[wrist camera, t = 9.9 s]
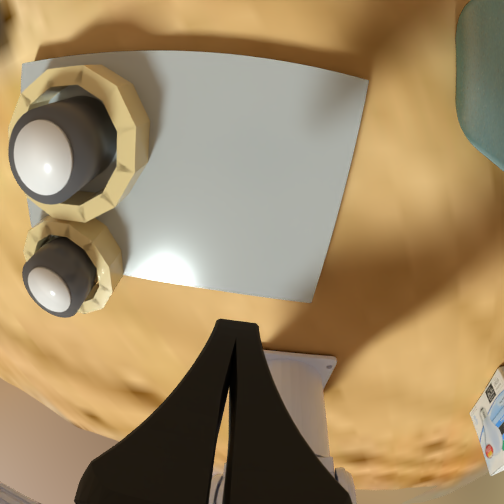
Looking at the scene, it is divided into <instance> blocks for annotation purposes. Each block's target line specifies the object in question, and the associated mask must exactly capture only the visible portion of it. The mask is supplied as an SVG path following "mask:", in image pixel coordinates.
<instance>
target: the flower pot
mask: <svg viewBox="0 0 504 504" xmlns="http://www.w3.org/2000/svg"><path fill="white" fill-rule="evenodd" d="M456 66H457V77H456V110H457V116H458V120H459V123H460V126H461V128H462V130H463V132H464V134H465V136H466V137H467V139H468V140H469V141H470V143H471V144H472V145H473V146H474V147H475V148H476V149H477V150H478V151H480V152H481V153H482V154H483V155H484V156H486V157H487V158H488V159H489V160H491V161H492V162H493V163H494V164H495V165H497V166H498V167H499V168H500V169H501V170H502V171H504V0H470V1H469V2H468V4H467V5H466V6H465V7H464V9H463V10H462V12H461V14H460V17H459V20H458V24H457V31H456Z"/></svg>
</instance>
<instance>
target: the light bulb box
mask: <svg viewBox="0 0 504 504" xmlns="http://www.w3.org/2000/svg"><path fill="white" fill-rule="evenodd" d="M470 416H471V418H472V421H473V424H474V426H475V429H476V432H477V435H478V438H479V441H480V444H481V447H482V450H483V453H484V456H485V459H486V463H487V466H488V470H489V473H490V475H491V476H492V475H494V474H496V473H498V472H501V471H503V470H504V366H502V367H499V368H498V369H497V371H496V372H495V374H494V376H493V377H492V379H491V381H490V382H489V384H488V386H487V387H486V389H485V390H484V392H483V394H482V395H481V397H480V398H479V400H478V401H477V403H476V404H475V406H474V407H473V409H472V410H471V412H470Z"/></svg>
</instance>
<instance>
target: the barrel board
mask: <svg viewBox="0 0 504 504" xmlns="http://www.w3.org/2000/svg"><path fill="white" fill-rule="evenodd" d="M368 83H369V80H365V79H362V78H358V77H354V76H351V75H347V74H343V73H339V72H335V71H330V70H326V69H321V68H317V67H312V66H307V65H302V64H297V63H291V62H285V61H279V60H273V59H266V58H259V57H252V56H243V55H234V54H224V53H211V52H195V51H119V52H104V53H92V54H82V55H73V56H65V57H58V58H51V59H45V60H39V61H34V62H28V63H23V64H22V75H21V95H20V97H19V100H18V102H17V105H16V108H15V110H14V113H13V116H12V119H11V122H10V125H9V128H8V134H9V140H10V136H11V133H12V130H13V128H14V126H15V124H16V122H17V121H18V120H19V118H20V117H21V116H22V115H23V114H25V113H26V112H27V111H29V110H31V109H34V108H37V107H40V106H43V105H46V104H50V103H53V102H57V101H60V100H64V99H67V98H71V97H75V96H89V97H92V98H95V99H97V100H98V101H100V102H101V103H103V104H104V105H105V107H106V109H107V112H108V114H109V116H110V118H111V120H112V122H113V124H114V126H115V128H116V130H117V150H116V153H115V156H114V158H113V160H112V162H111V163H110V165H109V166H108V167H107V168H106V169H105V170H104V171H103V172H102V173H100V174H99V175H98V176H96V177H95V178H94V179H93V180H91V181H90V182H89V183H87V184H86V185H85V186H84V187H82V188H81V189H80V190H79V191H77V192H76V193H75V194H74V195H72V196H71V197H70V198H69V199H67V200H66V201H64V202H62V203H59V204H53V205H49V204H43V203H40V202H37V201H36V200H34V199H32V198H31V197H29V196H28V195H27V194H26V193H25V192H24V193H25V194H26V196H27V201H28V208H29V214H30V220H31V226H32V228H31V229H30V230H29V232H28V235H27V239H26V243H25V247H24V250H23V251H24V255H25V259H26V263H25V265H24V267H23V272H22V276H23V281H24V285H25V287H26V289H27V291H28V293H29V295H30V296H31V297H32V299H33V300H34V301H35V302H36V303H37V304H38V305H39V306H40V307H41V308H42V309H44V310H45V311H47V312H48V313H50V314H52V315H55V316H58V317H64V318H65V317H71V316H73V315H75V314H76V313H77V312H79V313H83V314H86V313H90V312H93V311H96V310H100V309H103V308H104V306H105V305H106V303H107V301H108V299H109V298H110V296H111V294H112V293H113V291H114V289H115V287H116V286H117V284H118V282H119V281H120V279H121V278H122V276H123V275H127V276H133V277H138V278H144V279H150V280H155V281H161V282H167V283H173V284H179V285H186V286H192V287H198V288H205V289H211V290H218V291H224V292H231V293H238V294H245V295H252V296H259V297H267V298H274V299H282V300H290V301H297V302H305V303H311V302H312V299H313V296H314V293H315V290H316V287H317V283H318V280H319V277H320V274H321V270H322V267H323V264H324V260H325V257H326V254H327V250H328V247H329V243H330V240H331V237H332V233H333V229H334V226H335V222H336V219H337V215H338V211H339V208H340V204H341V200H342V196H343V193H344V189H345V185H346V181H347V177H348V173H349V169H350V165H351V161H352V157H353V152H354V148H355V144H356V140H357V135H358V131H359V126H360V122H361V117H362V113H363V108H364V103H365V98H366V93H367V88H368ZM97 281H99V283H98V284H96V283H97ZM95 284H96V285H95Z"/></svg>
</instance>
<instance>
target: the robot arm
mask: <svg viewBox="0 0 504 504" xmlns="http://www.w3.org/2000/svg"><path fill="white" fill-rule="evenodd" d="M336 364H337V359H336V357H333V356H323V355H311V354H300V353H290V352H280V351H271V350H263V347H262V343H261V339H260V333H259V326H258V325H257V324H256V323H249V322H241V321H233V320H226V319H219V320H217V321H216V324H215V327H214V329H213V331H212V333H211V335H210V337H209V339H208V341H207V343H206V345H205V347H204V348H203V350H202V351H201V353H200V355H199V356H198V358H197V359H196V361H195V362H194V364H193V365H192V367H191V368H190V370H189V371H188V372H187V374H186V375H185V376H184V378H183V379H182V380H181V382H180V383H179V384H178V386H177V387H176V388H175V389H174V390H173V392H172V393H171V394H170V395H169V396H168V397H167V398H166V400H165V401H164V402H163V403H162V404H161V405H160V406H159V407H158V408H157V409H156V410H155V411H154V412H153V413H152V414H151V415H150V416H149V417H148V418H147V419H146V420H145V421H144V422H143V423H142V424H140V425H139V426H138V427H137V428H136V429H135V430H133V431H132V432H131V433H130V434H128V435H127V436H126V437H125V438H124V439H122V440H121V441H120V442H119V443H117V444H116V445H115V446H113V447H112V448H110V449H109V450H107V451H106V452H104V453H103V454H101V455H100V456H99V457H97V458H96V459H94V460H93V461H91V463H90V464H89V466H88V467H87V469H86V471H85V472H84V474H83V476H82V478H81V480H80V482H79V485H78V489H77V492H76V496H75V500H74V502H75V503H76V504H356V494H355V487H354V482H353V478H352V475H351V474H350V473H349V472H347V471H345V469H344V468H343V467H340V468H335V474H334V464H333V457H330V451H329V440H328V430H327V421H326V412H325V403H324V394H323V389H324V387H325V385H326V383H327V381H328V379H329V377H330V375H331V374H332V372H333V370H334V368H335V366H336ZM228 390H229V441H228V455H227V463H225V464H224V473H223V474H217V475H215V476H214V477H213V478H212V472H213V464H214V456H215V449H216V443H217V438H218V433H219V429H220V425H221V420H222V416H223V412H224V407H225V403H226V398H227V394H228ZM0 504H41V503H38V502H36V501H34V500H32V499H30V498H29V497H27V496H25V495H23V494H21V493H19V492H17V491H16V490H14V489H12V488H10V487H9V486H7V485H5V484H3V483H2V482H0Z"/></svg>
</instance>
